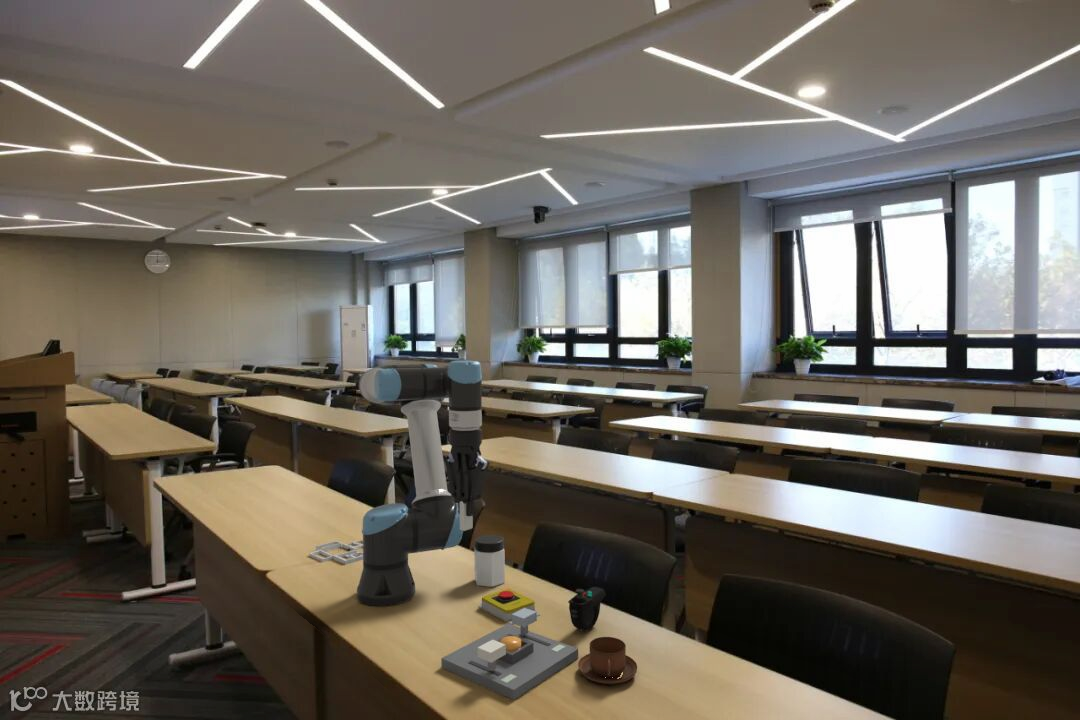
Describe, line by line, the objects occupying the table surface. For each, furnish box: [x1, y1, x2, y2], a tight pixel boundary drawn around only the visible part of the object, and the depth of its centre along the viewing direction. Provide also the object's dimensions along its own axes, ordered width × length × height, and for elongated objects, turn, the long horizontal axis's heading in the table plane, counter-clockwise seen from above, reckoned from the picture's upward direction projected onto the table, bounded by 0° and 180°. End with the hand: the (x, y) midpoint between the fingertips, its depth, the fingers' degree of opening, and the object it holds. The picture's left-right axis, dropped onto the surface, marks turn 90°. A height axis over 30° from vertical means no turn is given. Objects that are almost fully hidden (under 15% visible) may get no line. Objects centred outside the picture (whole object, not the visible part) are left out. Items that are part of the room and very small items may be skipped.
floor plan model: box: [308, 539, 363, 565], centre depth 212 cm, size 19×25×2 cm
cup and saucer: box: [577, 636, 638, 685], centre depth 139 cm, size 12×12×6 cm
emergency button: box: [477, 588, 541, 625], centre depth 171 cm, size 9×4×15 cm
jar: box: [473, 534, 506, 588], centre depth 190 cm, size 9×8×12 cm
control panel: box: [441, 623, 579, 701], centre depth 144 cm, size 20×21×4 cm
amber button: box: [500, 636, 521, 652], centre depth 144 cm, size 4×4×2 cm
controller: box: [567, 586, 607, 632], centre depth 160 cm, size 4×12×10 cm, turn 145°
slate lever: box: [512, 608, 538, 635], centre depth 152 cm, size 4×4×5 cm
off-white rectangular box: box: [478, 640, 506, 671], centre depth 136 cm, size 4×4×5 cm
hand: (466, 528), depth 158 cm, fingers closed
